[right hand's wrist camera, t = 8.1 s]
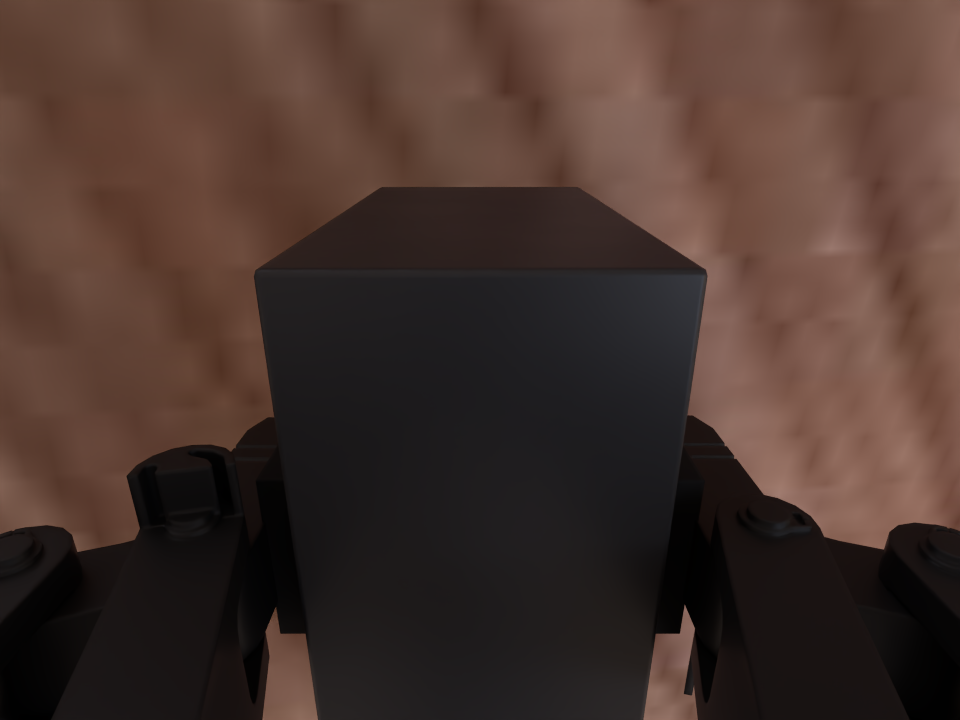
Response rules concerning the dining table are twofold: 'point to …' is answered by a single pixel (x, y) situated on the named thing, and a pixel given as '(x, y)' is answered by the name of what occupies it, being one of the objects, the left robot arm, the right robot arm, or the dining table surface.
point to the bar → (480, 449)
